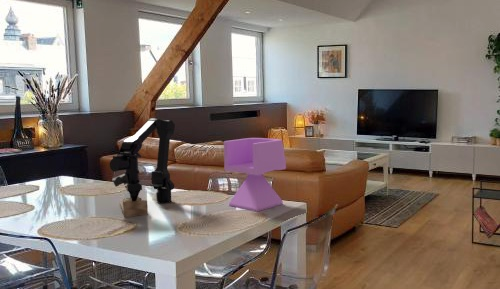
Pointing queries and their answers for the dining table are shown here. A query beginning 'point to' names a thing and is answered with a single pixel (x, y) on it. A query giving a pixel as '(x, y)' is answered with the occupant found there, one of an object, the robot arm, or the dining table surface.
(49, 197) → the dining table surface
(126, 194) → the slab
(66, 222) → the dining table surface
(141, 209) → the stop wall
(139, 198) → the roller
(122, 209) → the roller bed
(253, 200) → the chair
